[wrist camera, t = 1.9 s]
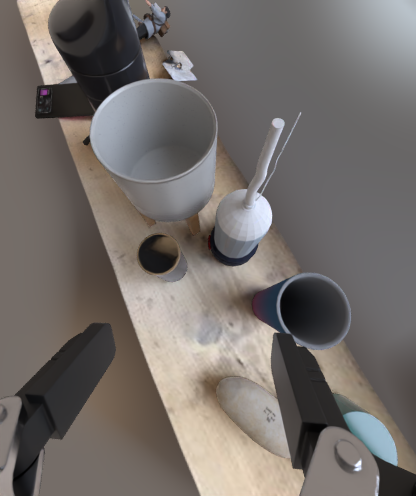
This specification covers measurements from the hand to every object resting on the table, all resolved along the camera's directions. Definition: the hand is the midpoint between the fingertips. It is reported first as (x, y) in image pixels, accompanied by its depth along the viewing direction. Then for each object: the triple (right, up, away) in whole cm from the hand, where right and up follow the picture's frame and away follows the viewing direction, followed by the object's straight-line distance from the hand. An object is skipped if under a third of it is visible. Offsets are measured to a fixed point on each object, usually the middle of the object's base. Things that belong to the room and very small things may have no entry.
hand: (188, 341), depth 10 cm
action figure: (-19, +50, +35) cm, 65 cm away
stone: (+8, -18, +20) cm, 28 cm away
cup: (+11, -5, +23) cm, 26 cm away
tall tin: (-5, +1, +25) cm, 25 cm away
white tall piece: (+5, +5, +26) cm, 27 cm away
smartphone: (-29, +36, +32) cm, 56 cm away
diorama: (-5, +46, +35) cm, 58 cm away
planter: (-4, +12, +28) cm, 31 cm away
